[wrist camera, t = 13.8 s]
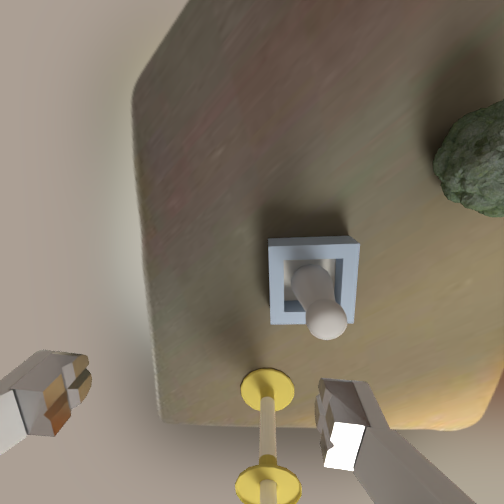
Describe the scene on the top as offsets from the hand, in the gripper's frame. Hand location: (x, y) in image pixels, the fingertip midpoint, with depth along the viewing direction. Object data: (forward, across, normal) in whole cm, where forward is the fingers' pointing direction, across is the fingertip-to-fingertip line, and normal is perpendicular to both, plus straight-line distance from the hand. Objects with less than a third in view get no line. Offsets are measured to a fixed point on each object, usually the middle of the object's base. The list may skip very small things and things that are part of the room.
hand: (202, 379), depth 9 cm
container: (+30, -9, +8) cm, 32 cm away
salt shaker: (+29, -9, +8) cm, 31 cm away
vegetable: (+30, -29, -10) cm, 43 cm away
